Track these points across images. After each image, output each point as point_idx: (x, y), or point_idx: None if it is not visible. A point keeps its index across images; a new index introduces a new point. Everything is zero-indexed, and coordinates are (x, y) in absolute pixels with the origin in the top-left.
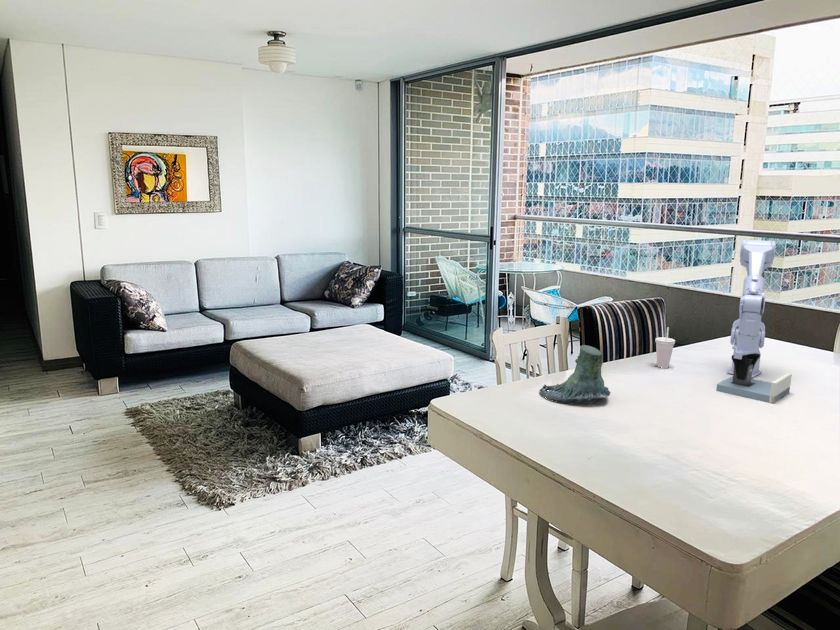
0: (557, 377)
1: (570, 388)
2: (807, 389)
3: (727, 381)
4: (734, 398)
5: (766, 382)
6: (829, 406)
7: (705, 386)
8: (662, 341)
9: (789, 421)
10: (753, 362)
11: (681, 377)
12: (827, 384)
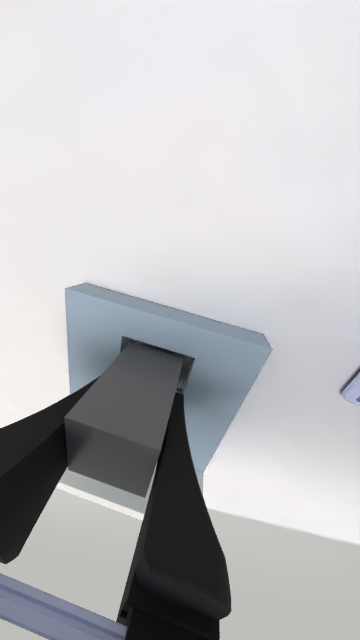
0: None
1: None
2: (263, 492)
3: (136, 324)
4: (51, 340)
5: (211, 438)
6: None
7: (109, 233)
8: None
9: (4, 424)
10: (144, 514)
11: (204, 24)
12: (341, 534)
